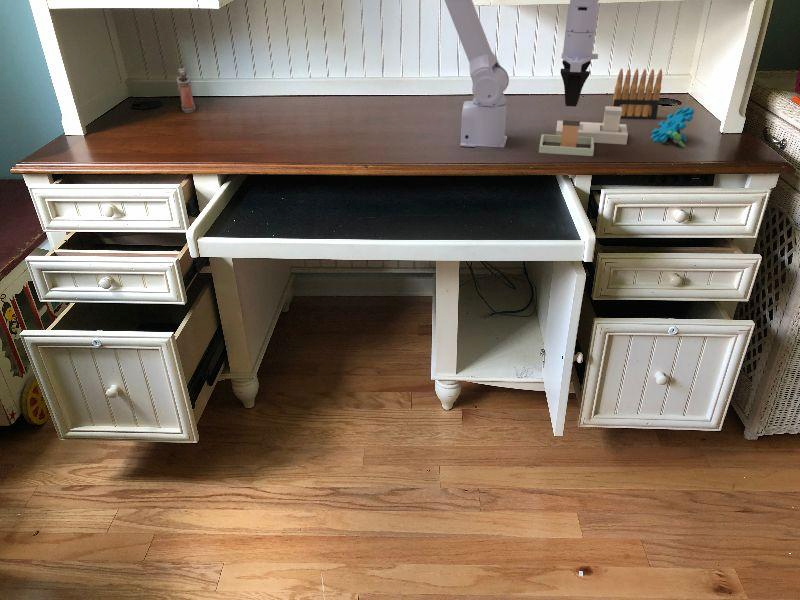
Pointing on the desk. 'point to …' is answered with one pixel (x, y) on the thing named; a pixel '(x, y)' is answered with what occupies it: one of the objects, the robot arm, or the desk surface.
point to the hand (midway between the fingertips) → (571, 101)
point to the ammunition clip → (638, 95)
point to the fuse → (612, 118)
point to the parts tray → (566, 149)
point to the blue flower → (673, 126)
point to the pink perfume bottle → (185, 91)
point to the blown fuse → (570, 131)
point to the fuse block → (598, 132)
